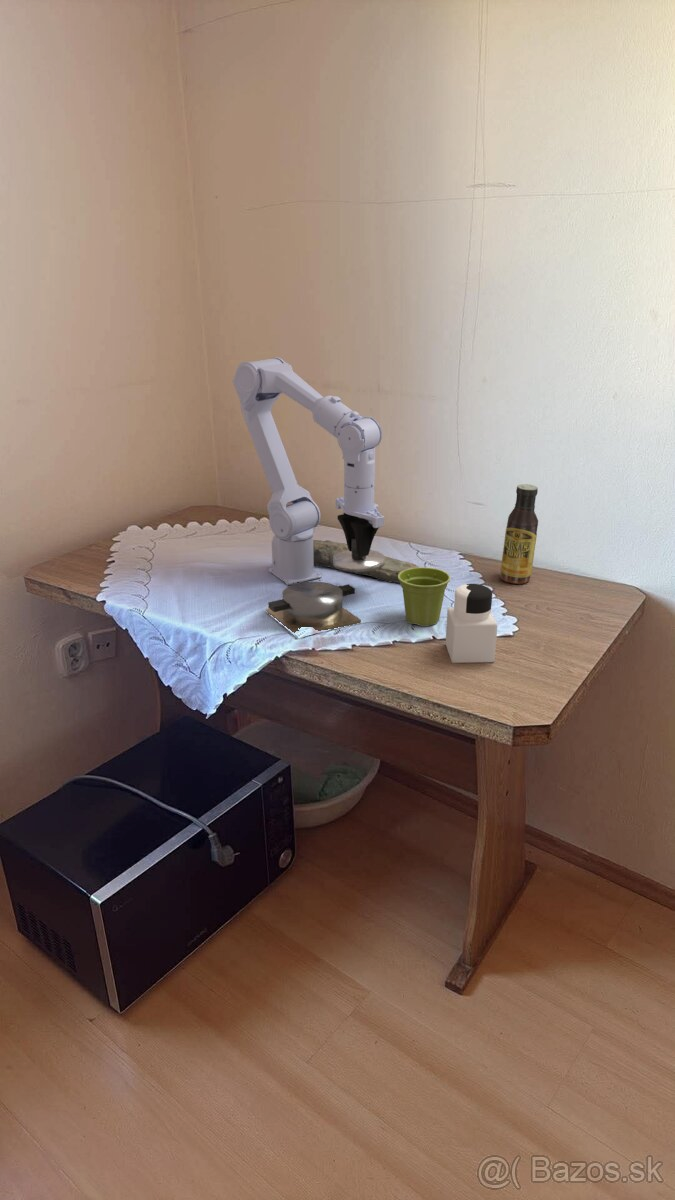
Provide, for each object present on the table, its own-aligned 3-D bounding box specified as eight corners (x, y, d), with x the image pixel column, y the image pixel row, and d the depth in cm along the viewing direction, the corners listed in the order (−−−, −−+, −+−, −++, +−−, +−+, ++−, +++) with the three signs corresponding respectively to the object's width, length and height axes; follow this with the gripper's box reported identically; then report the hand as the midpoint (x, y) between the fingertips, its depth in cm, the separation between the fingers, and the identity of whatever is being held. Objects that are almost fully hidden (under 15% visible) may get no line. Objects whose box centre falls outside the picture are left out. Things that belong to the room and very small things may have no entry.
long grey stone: (410, 598, 161) (433, 584, 169) (413, 574, 159) (436, 561, 167) (272, 556, 178) (299, 545, 186) (273, 533, 176) (300, 523, 184)
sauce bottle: (496, 582, 164) (503, 488, 156) (505, 572, 169) (513, 480, 161) (527, 587, 162) (537, 492, 154) (535, 577, 167) (545, 484, 159)
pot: (256, 614, 150) (255, 589, 148) (334, 596, 158) (334, 572, 156) (288, 641, 140) (287, 615, 138) (369, 620, 147) (370, 595, 145)
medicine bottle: (486, 643, 139) (491, 579, 134) (494, 663, 132) (500, 596, 128) (445, 644, 139) (448, 580, 134) (451, 663, 132) (455, 597, 127)
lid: (324, 560, 158) (323, 535, 156) (367, 551, 162) (367, 527, 160) (349, 576, 150) (349, 549, 148) (394, 565, 154) (394, 540, 152)
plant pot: (388, 613, 150) (389, 570, 147) (433, 606, 153) (435, 564, 150) (410, 634, 142) (411, 589, 139) (457, 626, 145) (459, 581, 142)
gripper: (398, 490, 146) (396, 560, 151) (357, 473, 157) (356, 538, 163) (366, 496, 143) (364, 567, 148) (326, 477, 154) (326, 544, 160)
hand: (358, 552), depth 155 cm, fingers closed on lid, 3 cm apart
